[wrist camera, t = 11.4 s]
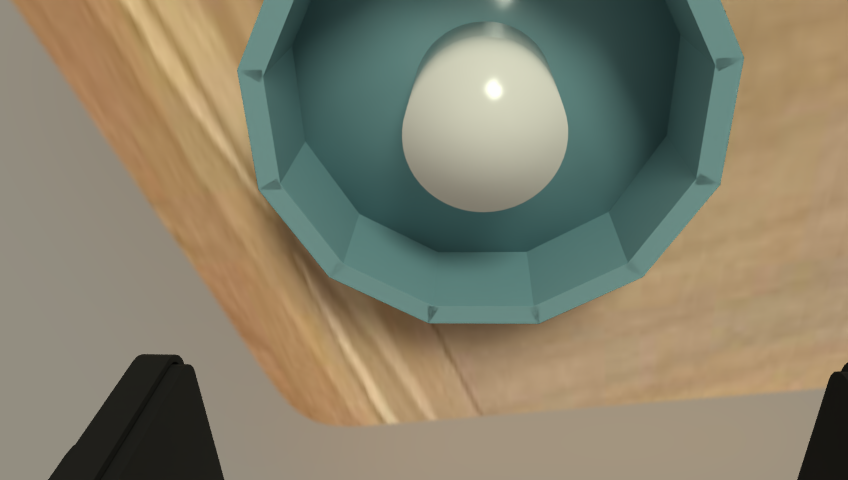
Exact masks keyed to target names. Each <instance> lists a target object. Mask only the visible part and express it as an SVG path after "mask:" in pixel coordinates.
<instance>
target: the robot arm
mask: <svg viewBox="0 0 848 480" xmlns="http://www.w3.org/2000/svg"><path fill="white" fill-rule="evenodd" d="M48 480H224V477H223V473H222V470H221V466H220V462H219V459H218V455H217V451H216V448H215V444H214V440H213V437H212V434H211V430H210V426H209V422H208V418H207V415H206V411H205V407H204V404H203V400H202V396H201V393H200V389H199V386H198V382H197V378H196V374H195V371H194V368H193V367H192V366H191V365H188V364H184V362H183V360H182V358H181V357H180V356H178V355H154V354H142V355H139V356H137V357H136V358H135V360H134V361H133V362H132V363H131V365H130V366H129V368H128V369H127V371H126V372H125V374H124V375H123V376H122V378H121V380H120V381H119V382H118V384H117V385H116V387H115V388H114V390H113V391H112V392H111V394H110V395H109V397H108V398H107V400H106V401H105V402H104V404H103V405H102V407H101V409H100V410H99V411H98V413H97V414H96V416H95V417H94V418H93V420H92V421H91V423H90V424H89V426H88V427H87V429H86V430H85V432H84V433H83V434H82V436H81V437H80V439H79V440H78V442H77V443H76V444H75V445H74V446H73V447H72V448H71V449H70V450H69V451H68V453H67V454H66V455H65V456H64V458H63V459H62V461H61V462H60V464H59V465H58V467H57V468H56V469H55V471H54V472H53V474H52V475H51V476H50V478H49V479H48ZM797 480H848V363H846V364H845V365H844V367H843V369H842V371H841V372H834V373H833V374H832V375H831V377H830V379H829V381H828V385H827V388H826V391H825V394H824V397H823V400H822V404H821V407H820V410H819V413H818V416H817V419H816V423H815V426H814V429H813V432H812V435H811V438H810V441H809V444H808V448H807V451H806V454H805V457H804V460H803V463H802V467H801V470H800V473H799V476H798V479H797Z"/></svg>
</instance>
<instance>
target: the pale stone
mask: <svg viewBox="0 0 848 480" xmlns="http://www.w3.org/2000/svg"><path fill="white" fill-rule="evenodd" d="M567 142H568V123H567V116H566V113H565V110H564V106H563V103H562V101H561V98H560V95H559V92H558V89H557V86H556V84H555V81H554V78H553V75H552V72H551V69H550V67H549V64H548V62H547V60H546V57H545V55H544V54H543V52H542V51H541V49H540V48H539V47H538V46H537V44H536V43H535V42H534V41H533V40H532V39H531V38H530V37H528V36H527V35H526V34H524V33H523V32H521V31H520V30H518V29H516V28H514V27H512V26H509V25H506V24H503V23H497V22H489V21H481V22H472V23H468V24H464V25H461V26H458V27H456V28H454V29H452V30H450V31H448V32H446V33H445V34H444V35H442V36H441V37H440V38H438V39H437V40H436V41H435V42H434V43H433V44H432V45H431V46H430V48H429V49H428V50H427V51H426V53H425V55H424V56H423V58H422V60H421V62H420V64H419V66H418V69H417V73H416V76H415V80H414V83H413V87H412V91H411V94H410V98H409V102H408V105H407V109H406V113H405V116H404V120H403V127H402V143H403V150H404V154H405V158H406V161H407V163H408V165H409V168H410V170H411V171H412V173H413V175H414V176H415V178H416V179H417V180H418V182H419V183H420V184H421V185H422V186H423V187H424V188H425V189H426V190H427V191H428V192H429V193H430V194H431V195H433V196H434V197H435V198H437V199H439V200H440V201H442V202H444V203H446V204H448V205H450V206H453V207H455V208H459V209H462V210H467V211H473V212H495V211H500V210H505V209H508V208H512V207H515V206H517V205H519V204H521V203H524V202H525V201H527V200H529V199H531V198H532V197H534V196H535V195H536V194H538V193H539V192H540V191H541V190H542V189H543V188H544V187H545V186H546V185H547V184H548V183H549V182H550V181H551V180H552V178H553V177H554V176H555V174H556V172H557V171H558V169H559V167H560V165H561V163H562V161H563V158H564V155H565V152H566V148H567Z"/></svg>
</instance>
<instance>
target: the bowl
mask: <svg viewBox="0 0 848 480" xmlns="http://www.w3.org/2000/svg"><path fill="white" fill-rule="evenodd" d="M481 21H489V22H497V23H503V24H506V25H509V26H512V27H514V28H516V29H518V30H520V31H521V32H523V33H524V34H526V35H527V36H528V37H530V38H531V39H532V40H533V41H534V42H535V43H536V44H537V46H538V47H539V48H540V49H541V51H542V52H543V54H544V55H545V57H546V60H547V62H548V64H549V67H550V69H551V72H552V75H553V78H554V81H555V84H556V86H557V89H558V92H559V95H560V98H561V101H562V103H563V106H564V110H565V113H566V116H567V123H568V142H567V148H566V152H565V155H564V158H563V161H562V163H561V165H560V167H559V169H558V171H557V172H556V174H555V176H554V177H553V178H552V180H551V181H550V182H549V183H548V184H547V185H546V186H545V187H544V188H543V189H542V190H541V191H540V192H539V193H538V194H536V195H535V196H534V197H532V198H531V199H529V200H527V201H525V202H524V203H521V204H519V205H517V206H515V207H512V208H508V209H505V210H500V211H495V212H473V211H467V210H462V209H459V208H455V207H453V206H450V205H448V204H446V203H444V202H442V201H440V200H439V199H437V198H435V197H434V196H433V195H431V194H430V193H429V192H428V191H427V190H426V189H425V188H424V187H423V186H422V185H421V184H420V183H419V182H418V180H417V179H416V178H415V176H414V175H413V173H412V171H411V170H410V168H409V165H408V163H407V161H406V158H405V154H404V150H403V143H402V127H403V120H404V116H405V113H406V109H407V105H408V102H409V98H410V94H411V91H412V87H413V83H414V80H415V76H416V73H417V69H418V66H419V64H420V62H421V60H422V58H423V56H424V55H425V53H426V51H427V50H428V49H429V48H430V46H431V45H432V44H433V43H434V42H435V41H436V40H437V39H438V38H440V37H441V36H442V35H444V34H445V33H446V32H448V31H450V30H452V29H454V28H456V27H458V26H461V25H464V24H468V23H472V22H481ZM743 61H744V56H743V54H742V52H741V49H740V47H739V44H738V42H737V39H736V37H735V35H734V32H733V30H732V27H731V25H730V22H729V20H728V18H727V15H726V13H725V10H724V8H723V6H722V3H721V1H720V0H264V2H263V4H262V7H261V10H260V12H259V15H258V17H257V20H256V23H255V25H254V28H253V30H252V33H251V36H250V38H249V41H248V44H247V46H246V49H245V51H244V54H243V57H242V59H241V62H240V64H239V67H238V70H237V72H238V78H239V83H240V89H241V94H242V100H243V105H244V111H245V117H246V122H247V128H248V133H249V139H250V145H251V150H252V156H253V161H254V167H255V173H256V178H257V184H258V190H259V191H260V192H261V193H262V195H263V196H264V197H265V198H266V199H267V201H268V202H269V203H270V204H271V206H272V207H273V208H274V209H275V211H276V212H277V213H278V214H279V216H280V217H281V218H282V219H283V221H284V222H285V223H286V224H287V225H288V227H289V228H290V229H291V230H292V232H293V233H294V234H295V235H296V237H297V238H298V239H299V240H300V242H301V243H302V244H303V245H304V247H305V248H306V249H307V250H308V252H309V253H310V254H311V255H312V256H313V258H314V259H315V260H316V261H317V263H318V264H319V265H320V266H321V268H322V269H323V270H324V271H325V273H326V274H327V275H328V276H329V277H330V278H332V279H334V280H336V281H338V282H341V283H343V284H345V285H347V286H349V287H351V288H354V289H356V290H358V291H360V292H362V293H364V294H367V295H369V296H371V297H373V298H375V299H377V300H379V301H382V302H384V303H386V304H388V305H390V306H392V307H395V308H397V309H399V310H401V311H403V312H405V313H408V314H410V315H412V316H414V317H416V318H418V319H420V320H423V321H425V322H427V323H494V324H539V323H541V322H544V321H546V320H548V319H550V318H553V317H555V316H557V315H559V314H561V313H564V312H566V311H568V310H570V309H573V308H575V307H577V306H579V305H582V304H584V303H586V302H588V301H590V300H593V299H595V298H597V297H599V296H602V295H604V294H606V293H608V292H611V291H613V290H615V289H617V288H619V287H622V286H624V285H626V284H628V283H631V282H633V281H635V280H637V279H640V278H642V277H643V276H644V275H645V274H646V273H647V271H648V270H649V269H650V268H651V267H652V265H653V264H654V263H655V262H656V261H657V259H658V258H659V257H660V256H661V255H662V254H663V252H664V251H665V250H666V249H667V248H668V246H669V245H670V244H671V243H672V242H673V240H674V239H675V238H676V237H677V236H678V234H679V233H680V232H681V231H682V230H683V228H684V227H685V226H686V225H687V224H688V222H689V221H690V220H691V219H692V218H693V216H694V215H695V214H696V213H697V212H698V210H699V209H700V208H701V207H702V206H703V204H704V203H705V202H706V201H707V200H708V199H709V197H710V196H711V195H712V194H713V193H714V191H715V190H716V189H717V188H718V187H719V185H720V183H721V177H722V172H723V167H724V161H725V156H726V151H727V146H728V140H729V135H730V130H731V124H732V119H733V114H734V108H735V103H736V98H737V92H738V87H739V82H740V77H741V71H742V66H743Z"/></svg>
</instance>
